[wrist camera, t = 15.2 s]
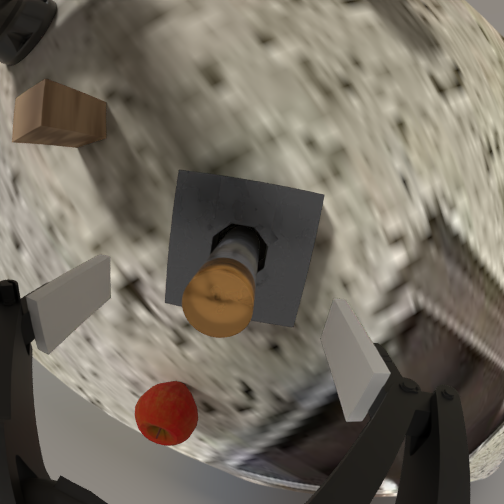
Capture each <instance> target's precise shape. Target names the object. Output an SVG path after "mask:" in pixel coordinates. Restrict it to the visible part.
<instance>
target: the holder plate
mask: <svg viewBox="0 0 504 504" xmlns="http://www.w3.org/2000/svg"><path fill="white" fill-rule="evenodd" d="M323 200H324V195H323V194H319V193H314V192H310V191H305V190H300V189H295V188H290V187H285V186H280V185H275V184H269V183H264V182H258V181H253V180H247V179H241V178H234V177H228V176H221V175H215V174H208V173H200V172H193V171H185V170H179V173H178V179H177V186H176V193H175V200H174V207H173V215H172V224H171V233H170V242H169V253H168V264H167V278H166V293H165V303H168V304H172V305H177V306H181V307H182V297H183V293H184V290H185V288H186V287H187V285H188V284H189V283H190V281H191V280H192V279H193V277H194V276H195V275H196V273H197V272H198V271H199V269H200V268H201V267H202V265H203V264H204V263H205V261H206V260H207V259H208V257H209V256H210V255H211V253H212V252H213V251H214V249H215V248H216V247H217V243H218V236H219V232H220V231H221V230H223V229H224V228H225V227H227V226H228V225H230V224H231V223H233V224H239V225H244V226H250V227H255V228H256V230H257V231H258V233H259V234H260V236H261V237H262V238H263V240H264V241H265V243H266V244H267V246H266V251H265V256H264V258H263V259H261V260H260V261H258V267H257V277H256V287H255V297H254V307H253V315H252V318H251V321H257V322H263V323H269V324H275V325H282V326H288V327H293V326H294V322H295V319H296V315H297V311H298V308H299V304H300V300H301V296H302V292H303V289H304V285H305V281H306V277H307V272H308V268H309V264H310V260H311V256H312V251H313V247H314V243H315V238H316V234H317V229H318V224H319V220H320V215H321V210H322V205H323Z"/></svg>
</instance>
